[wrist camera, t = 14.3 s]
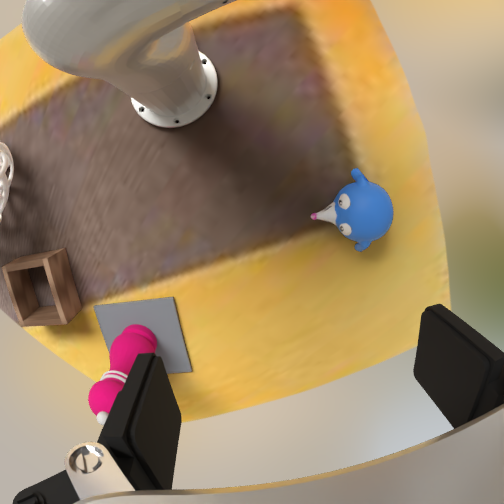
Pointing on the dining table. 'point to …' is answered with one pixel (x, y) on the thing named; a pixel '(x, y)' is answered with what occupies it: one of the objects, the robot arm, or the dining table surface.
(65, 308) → the holder
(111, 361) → the pink bowling pin
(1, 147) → the decorative ball
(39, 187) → the dining table surface
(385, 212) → the blue mole toy
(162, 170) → the dining table surface
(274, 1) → the dining table surface
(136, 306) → the mat
